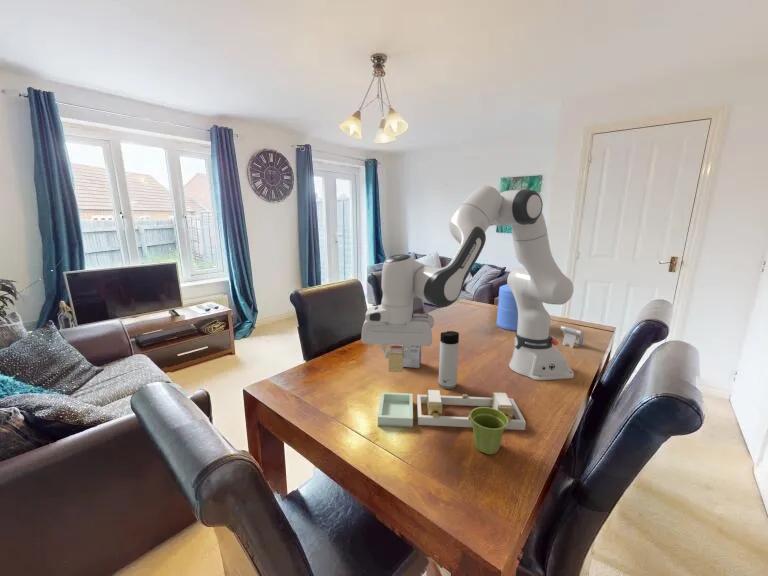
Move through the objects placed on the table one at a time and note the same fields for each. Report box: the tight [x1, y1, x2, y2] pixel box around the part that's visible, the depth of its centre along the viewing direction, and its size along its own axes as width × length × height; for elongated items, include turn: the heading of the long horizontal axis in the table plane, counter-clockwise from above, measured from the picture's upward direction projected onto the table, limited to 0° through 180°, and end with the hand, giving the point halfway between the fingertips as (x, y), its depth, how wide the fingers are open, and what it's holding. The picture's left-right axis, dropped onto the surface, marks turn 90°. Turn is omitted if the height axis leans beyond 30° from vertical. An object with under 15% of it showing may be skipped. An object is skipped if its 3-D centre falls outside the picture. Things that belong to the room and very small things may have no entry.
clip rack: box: [416, 393, 526, 431], centre depth 98 cm, size 30×12×3 cm, turn 86°
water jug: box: [495, 283, 518, 332], centre depth 171 cm, size 16×16×28 cm
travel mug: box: [437, 330, 460, 390], centre depth 113 cm, size 6×7×20 cm
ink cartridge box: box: [403, 345, 422, 369], centre depth 129 cm, size 10×6×14 cm, turn 79°
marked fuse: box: [388, 345, 404, 373], centre depth 95 cm, size 4×8×6 cm, turn 176°
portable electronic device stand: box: [560, 325, 586, 349], centre depth 149 cm, size 9×8×8 cm
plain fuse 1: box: [426, 388, 443, 416], centre depth 98 cm, size 4×8×6 cm, turn 175°
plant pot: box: [469, 406, 508, 455], centre depth 84 cm, size 9×9×9 cm
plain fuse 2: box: [490, 391, 514, 419], centre depth 97 cm, size 4×8×6 cm, turn 176°
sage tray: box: [377, 391, 414, 429], centre depth 99 cm, size 10×13×3 cm
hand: (396, 358), depth 95 cm, fingers closed on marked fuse, 3 cm apart
